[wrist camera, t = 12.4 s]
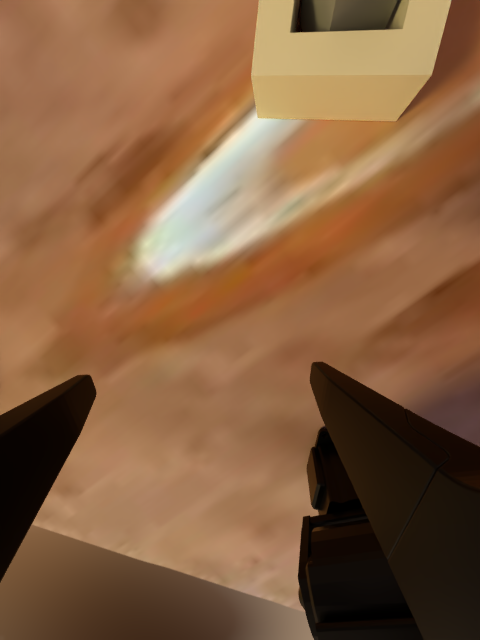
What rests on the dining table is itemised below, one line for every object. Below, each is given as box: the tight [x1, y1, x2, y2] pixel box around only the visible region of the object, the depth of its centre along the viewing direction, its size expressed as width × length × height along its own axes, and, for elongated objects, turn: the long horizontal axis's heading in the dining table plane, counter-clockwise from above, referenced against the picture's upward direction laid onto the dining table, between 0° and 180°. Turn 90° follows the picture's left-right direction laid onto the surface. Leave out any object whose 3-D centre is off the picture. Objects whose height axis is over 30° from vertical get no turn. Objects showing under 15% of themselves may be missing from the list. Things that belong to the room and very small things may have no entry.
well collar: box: [251, 0, 452, 121], centre depth 14 cm, size 10×10×4 cm
